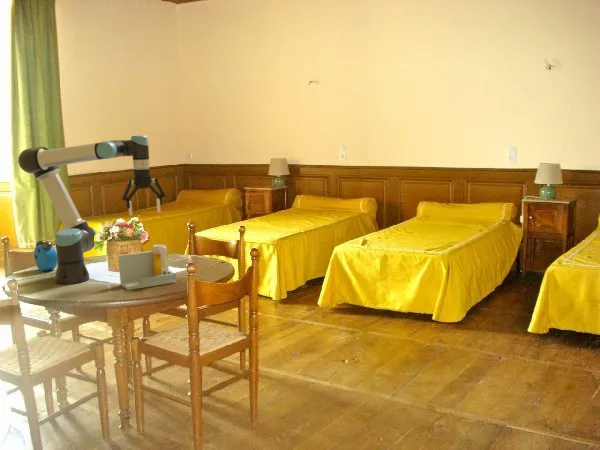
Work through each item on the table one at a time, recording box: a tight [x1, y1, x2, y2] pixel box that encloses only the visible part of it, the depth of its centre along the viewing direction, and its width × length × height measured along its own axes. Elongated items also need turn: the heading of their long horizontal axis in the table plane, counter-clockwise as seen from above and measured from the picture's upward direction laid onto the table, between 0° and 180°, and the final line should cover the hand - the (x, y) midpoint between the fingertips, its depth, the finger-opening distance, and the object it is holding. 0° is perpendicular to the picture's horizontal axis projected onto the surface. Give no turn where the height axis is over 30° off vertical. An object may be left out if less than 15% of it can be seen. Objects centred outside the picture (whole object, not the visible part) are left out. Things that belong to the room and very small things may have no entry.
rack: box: [118, 248, 177, 291], centre depth 295 cm, size 22×11×14 cm, turn 120°
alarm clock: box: [33, 239, 58, 272], centre depth 331 cm, size 13×6×15 cm, turn 47°
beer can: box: [151, 243, 169, 276], centre depth 299 cm, size 6×6×15 cm
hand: (145, 213), depth 313 cm, fingers open, 13 cm apart
